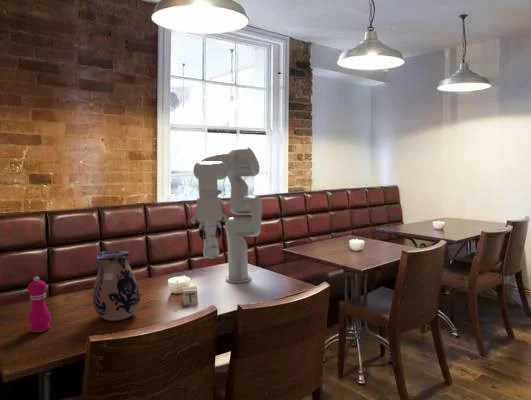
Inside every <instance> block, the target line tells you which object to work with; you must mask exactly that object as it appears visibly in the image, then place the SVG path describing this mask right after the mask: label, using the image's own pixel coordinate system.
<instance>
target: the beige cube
mask: <svg viewBox="0 0 531 400" xmlns="http://www.w3.org/2000/svg"><path fill="white" fill-rule="evenodd" d="M198 297H199V295H198V286H197V285H190V286H182V302H183V303H182V305H183V306H191V305H198V304H199V299H198Z"/></svg>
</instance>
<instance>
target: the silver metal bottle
mask: <svg viewBox="0 0 531 400" xmlns="http://www.w3.org/2000/svg"><path fill="white" fill-rule="evenodd" d="M217 228H218V224H217V222H216V221H215V220H214V219H212V218H208V219H207V220H205V221H204V222H203V226H202V229H203V240H204V241H203V250H202V253H203V257H204V258H206V259H208V260H209V259H211V260H212V259H216V258H219V255H220V248H219V243H218V236H217Z"/></svg>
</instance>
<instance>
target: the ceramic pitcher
mask: <svg viewBox="0 0 531 400" xmlns="http://www.w3.org/2000/svg"><path fill="white" fill-rule="evenodd" d="M130 253H131V252H130V251H123V250H120V251H119V250H118V251H117V250H115V251H100V252H98V253H97V254H96V255H95V256H94V259H95V260H96V262H97V269H98V270H97V274H96V279H95V281H94V285H93V286H94V287H93V291H92V305H93V309H94V310H95V311H96V313H97V314H98V315H99V317H101V318H102V319H104V320H105V321H115V322H116V321H121V320H124V319H125V320H126V319H128V318H130V317H132V315H134V313H135V312H136V311H137V310H138V307H139V306H140V302H141V291H140V287H139V284H138V282H137V279H136V276H135V274H134V272H133V270H132V268H131V265H130V262H129V255H130Z"/></svg>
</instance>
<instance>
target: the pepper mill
mask: <svg viewBox="0 0 531 400" xmlns="http://www.w3.org/2000/svg"><path fill="white" fill-rule="evenodd" d="M47 287H48V285H47V283H46V282H45V281H43V280H40V276H34V277H33V281H31V282H30V283H29V284H28V286H27V291H28V293H29V294H30V295H29V298H30V300H31V309H30V313H29V315H28V323H29V324H30V325H31V326H30V332H31V331H42V330H45V329H48V328H49V327H50V328H51V323H50V320H51V319H52V316H51V312H50V309H48V307H47V305H46V300H45V299H46V297H47V293H46V290H47Z"/></svg>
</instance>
